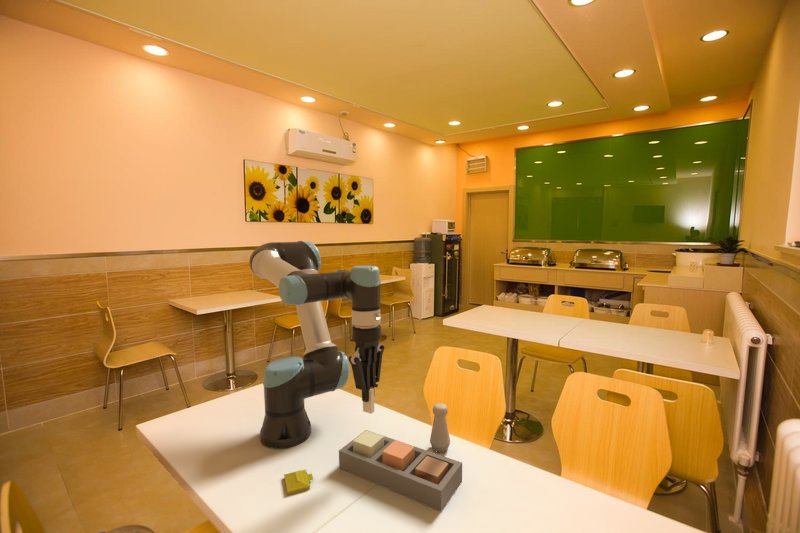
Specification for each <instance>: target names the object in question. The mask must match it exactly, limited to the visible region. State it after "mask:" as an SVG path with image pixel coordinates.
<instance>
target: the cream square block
mask: <svg viewBox="0 0 800 533" xmlns="http://www.w3.org/2000/svg"><path fill="white" fill-rule="evenodd" d="M364 431H365V430H364ZM364 431H363V432H364ZM370 431H371V430H368V431H367V429H366V431H365V432H364V433H363V432H362V434H361V433H360V434H361V435H360V434H359V435H360V436H359V435H357V436H358V437H357V436H356V437H357V438H356V437H355V438H356V439H355V438H353V439H354V440H353V439H352V440H353V452H355V453H357V454H360V455H363V456H365V457H368V458H372V457H373V456H374V455H375V454H376V453H377V452H378V451H380V450H381V449H382V448H383V447H384V436H385V435H382V434H380V433H377V434H376V432H374V431H371V432H370ZM373 432H374V433H373ZM379 434H380V435H379ZM381 435H382V436H381Z"/></svg>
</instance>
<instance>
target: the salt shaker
mask: <svg viewBox="0 0 800 533" xmlns="http://www.w3.org/2000/svg"><path fill="white" fill-rule="evenodd" d="M448 409H449V408H448V406H447V404H445V403H440V402H439V403H435V404H434V405H433V407H432V413H433V415H434V416H433V421H432V422H433V423H432V428H431V433H430V439H429V443H430V445H431V448H432V449H433V450H434V452H436V451H437V452H436V453H441V452H443V453H445V452H446V450H447V451H448V449H449V447H450V445H451V437H450V432H449V427H448V421H447V415H448V412H449V410H448ZM444 451H445V452H444Z"/></svg>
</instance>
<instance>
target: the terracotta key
mask: <svg viewBox="0 0 800 533" xmlns="http://www.w3.org/2000/svg"><path fill="white" fill-rule="evenodd" d="M394 440H395V441H394V442H393V443H391V444H390V445H389V446H388V447H387V448H386V449H385V450H384V451H382V455H383V464H386V465H388V466H391V467H394V468H396V469H399V470H401V471H403V470H404V469H405V468H406V467H407V466H408V465H409V464H410V463H411V462H412V461H413V460H414V459H415V447H416V446H415V445H412V444H409V443H406V444H405V442H403V443H402V441H400V442H399V440H397V439H394ZM396 440H397V441H396ZM408 444H409V445H408ZM411 445H412V446H411ZM414 446H415V447H414Z"/></svg>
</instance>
